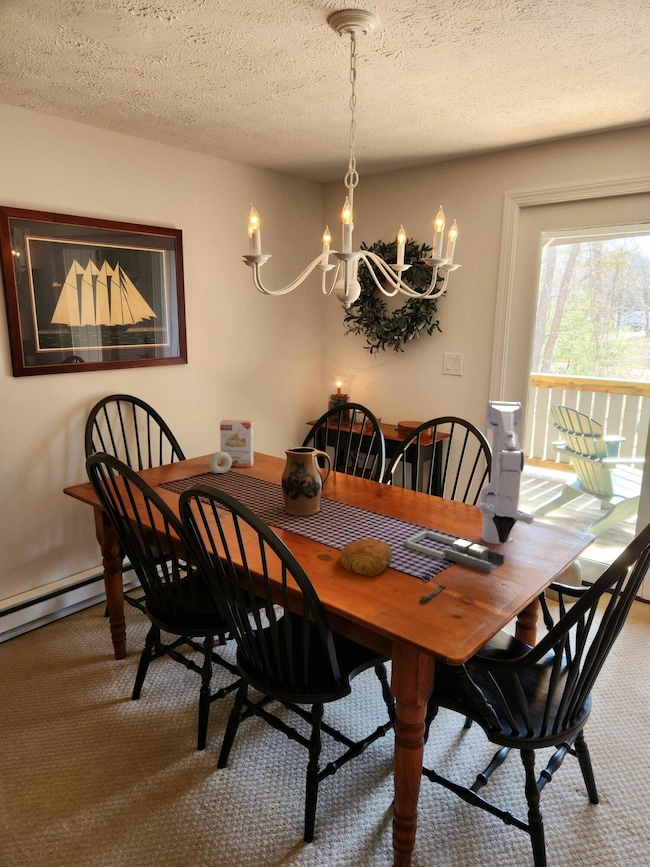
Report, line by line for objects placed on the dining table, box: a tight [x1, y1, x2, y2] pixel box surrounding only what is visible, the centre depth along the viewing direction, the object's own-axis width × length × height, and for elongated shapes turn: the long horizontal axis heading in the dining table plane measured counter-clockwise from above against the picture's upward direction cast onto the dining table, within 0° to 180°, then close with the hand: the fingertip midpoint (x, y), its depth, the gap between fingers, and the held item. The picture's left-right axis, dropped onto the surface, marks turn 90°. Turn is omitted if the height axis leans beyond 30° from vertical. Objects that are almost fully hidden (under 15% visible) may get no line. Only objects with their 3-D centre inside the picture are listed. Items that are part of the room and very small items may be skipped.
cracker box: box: [219, 419, 254, 468], centre depth 254 cm, size 14×6×21 cm, turn 86°
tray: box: [403, 530, 458, 560], centre depth 169 cm, size 12×13×2 cm
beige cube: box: [451, 538, 473, 555], centre depth 163 cm, size 4×4×4 cm
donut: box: [208, 450, 232, 474], centre depth 242 cm, size 10×4×10 cm, turn 118°
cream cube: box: [468, 543, 489, 561], centre depth 159 cm, size 4×4×4 cm
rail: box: [444, 543, 506, 574], centre depth 160 cm, size 9×14×4 cm, turn 47°
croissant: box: [340, 538, 394, 577], centre depth 159 cm, size 14×16×8 cm
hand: (503, 541), depth 153 cm, fingers closed
